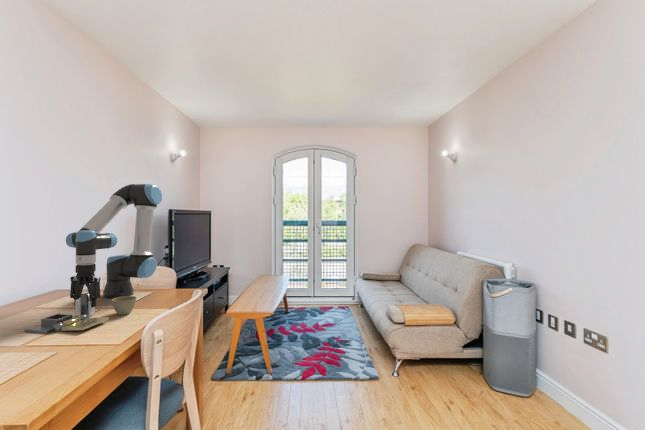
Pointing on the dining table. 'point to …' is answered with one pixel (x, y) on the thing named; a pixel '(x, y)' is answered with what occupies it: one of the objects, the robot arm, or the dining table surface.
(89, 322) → the brass leaf
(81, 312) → the pin
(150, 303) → the dining table surface
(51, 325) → the hinge base
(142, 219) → the robot arm
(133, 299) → the flower pot
